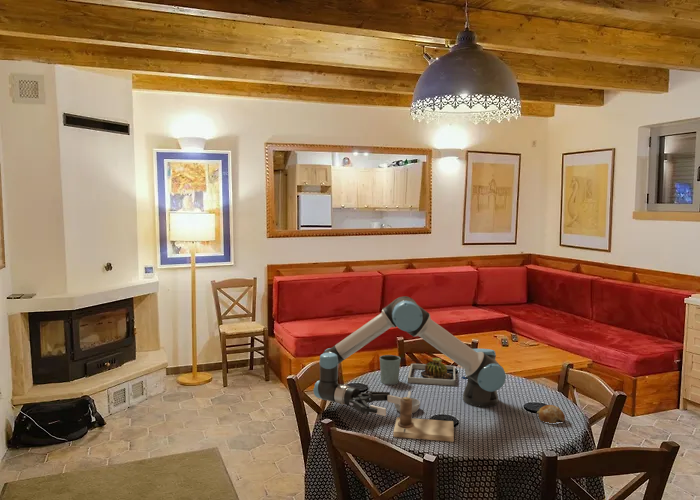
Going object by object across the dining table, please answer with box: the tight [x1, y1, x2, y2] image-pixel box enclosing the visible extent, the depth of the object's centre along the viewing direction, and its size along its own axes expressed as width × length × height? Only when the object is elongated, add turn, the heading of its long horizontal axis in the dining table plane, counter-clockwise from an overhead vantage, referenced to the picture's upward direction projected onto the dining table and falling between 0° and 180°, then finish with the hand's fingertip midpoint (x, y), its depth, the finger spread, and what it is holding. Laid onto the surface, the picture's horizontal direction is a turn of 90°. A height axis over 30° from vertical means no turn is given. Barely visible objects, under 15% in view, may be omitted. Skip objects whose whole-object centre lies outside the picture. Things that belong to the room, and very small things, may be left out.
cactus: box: [420, 357, 453, 380], centre depth 275 cm, size 17×16×10 cm
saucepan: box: [393, 390, 421, 414], centre depth 234 cm, size 11×18×4 cm, turn 168°
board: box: [393, 416, 455, 443], centre depth 209 cm, size 22×14×2 cm, turn 80°
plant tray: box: [407, 363, 456, 386], centre depth 275 cm, size 23×24×2 cm
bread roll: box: [536, 404, 566, 423], centre depth 220 cm, size 10×10×8 cm
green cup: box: [379, 354, 401, 386], centre depth 266 cm, size 10×10×12 cm
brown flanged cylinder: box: [398, 396, 414, 428], centre depth 209 cm, size 6×6×10 cm
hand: (394, 406), depth 212 cm, fingers open, 13 cm apart
